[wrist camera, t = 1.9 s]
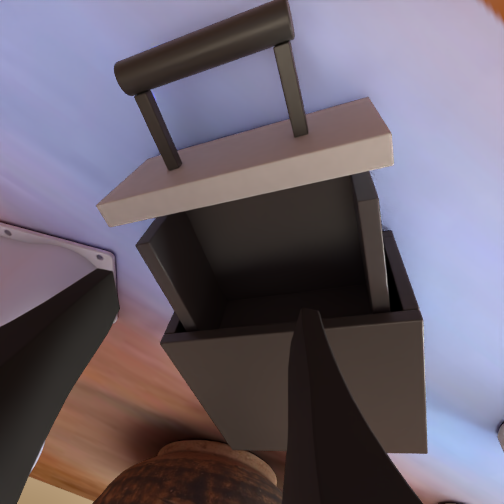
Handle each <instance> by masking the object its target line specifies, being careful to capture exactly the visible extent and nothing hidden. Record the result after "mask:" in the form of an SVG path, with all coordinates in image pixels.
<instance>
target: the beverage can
mask: <svg viewBox="0 0 504 504" xmlns="http://www.w3.org/2000/svg"><path fill="white" fill-rule="evenodd" d="M498 440H499V442H500V445H501V447H502V449H503V451H504V423H503V424H502V425H501V427H500V429H499V432H498Z"/></svg>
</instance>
